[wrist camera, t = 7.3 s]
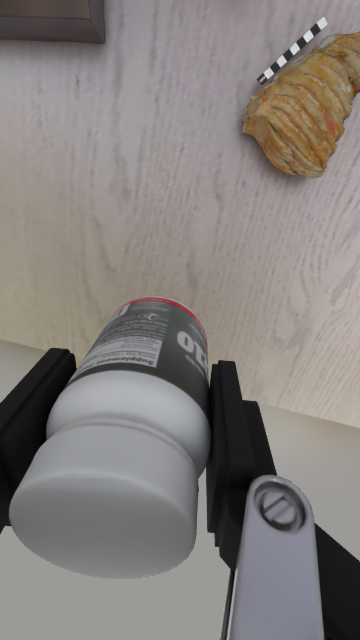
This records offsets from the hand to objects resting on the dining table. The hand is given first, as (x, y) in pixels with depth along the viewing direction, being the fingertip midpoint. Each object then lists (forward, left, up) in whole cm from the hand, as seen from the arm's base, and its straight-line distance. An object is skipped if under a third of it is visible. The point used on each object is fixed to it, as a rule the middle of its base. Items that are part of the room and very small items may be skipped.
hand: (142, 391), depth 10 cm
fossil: (-10, -15, -25) cm, 31 cm away
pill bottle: (0, 0, -4) cm, 4 cm away
